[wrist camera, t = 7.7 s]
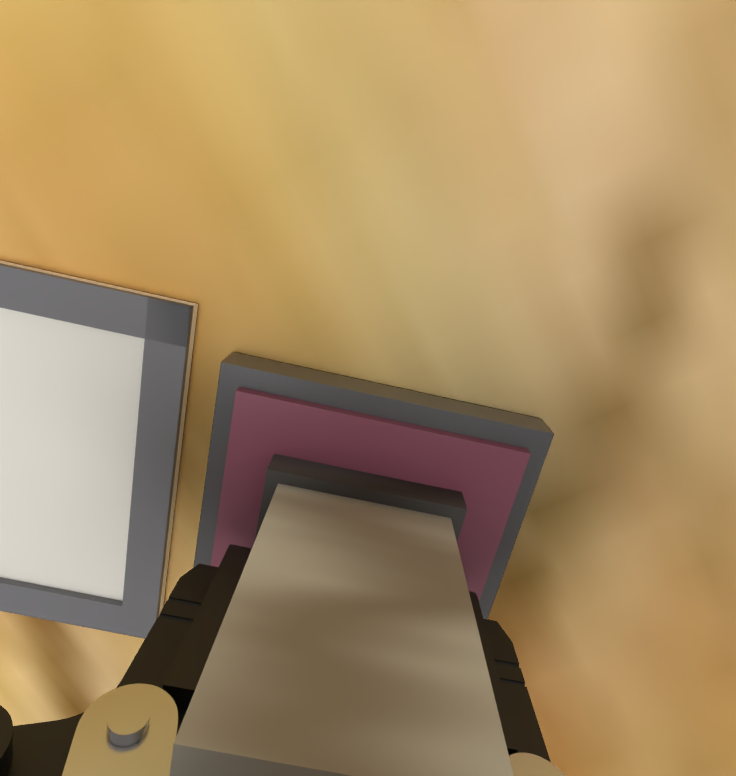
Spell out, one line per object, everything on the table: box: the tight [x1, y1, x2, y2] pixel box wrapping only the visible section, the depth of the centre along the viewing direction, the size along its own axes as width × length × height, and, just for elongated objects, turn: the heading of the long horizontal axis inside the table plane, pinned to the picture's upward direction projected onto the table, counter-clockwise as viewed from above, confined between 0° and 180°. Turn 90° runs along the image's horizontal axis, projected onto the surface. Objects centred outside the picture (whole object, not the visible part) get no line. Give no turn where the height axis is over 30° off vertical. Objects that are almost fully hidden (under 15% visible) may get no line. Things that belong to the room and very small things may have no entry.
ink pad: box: [194, 352, 554, 619], centre depth 13 cm, size 8×8×1 cm
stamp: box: [169, 454, 514, 776], centre depth 8 cm, size 5×5×9 cm
